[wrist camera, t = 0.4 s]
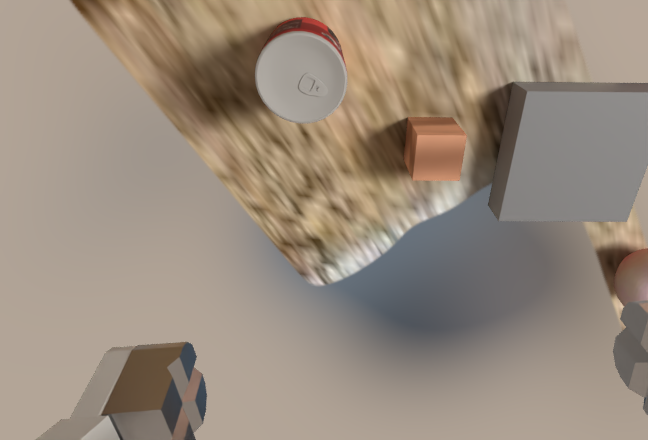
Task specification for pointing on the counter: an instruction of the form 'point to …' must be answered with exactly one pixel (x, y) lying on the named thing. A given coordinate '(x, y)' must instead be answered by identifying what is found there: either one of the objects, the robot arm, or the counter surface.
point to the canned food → (301, 71)
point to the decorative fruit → (632, 277)
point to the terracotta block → (434, 148)
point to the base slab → (571, 152)
